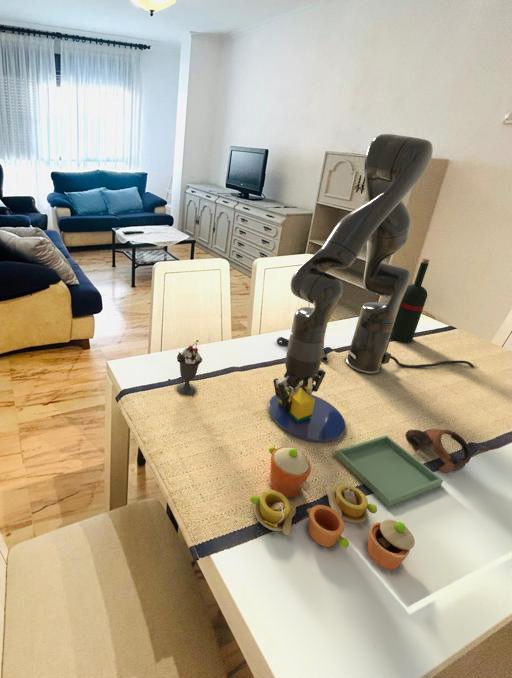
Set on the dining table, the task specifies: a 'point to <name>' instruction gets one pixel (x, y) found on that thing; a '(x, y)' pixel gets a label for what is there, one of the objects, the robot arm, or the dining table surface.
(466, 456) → the pottery mug
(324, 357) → the bracket
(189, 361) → the sundae
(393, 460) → the dish
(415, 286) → the wine bottle
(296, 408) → the sponge
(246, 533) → the dining table surface
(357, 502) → the toy tea set
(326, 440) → the plate
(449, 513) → the dining table surface
